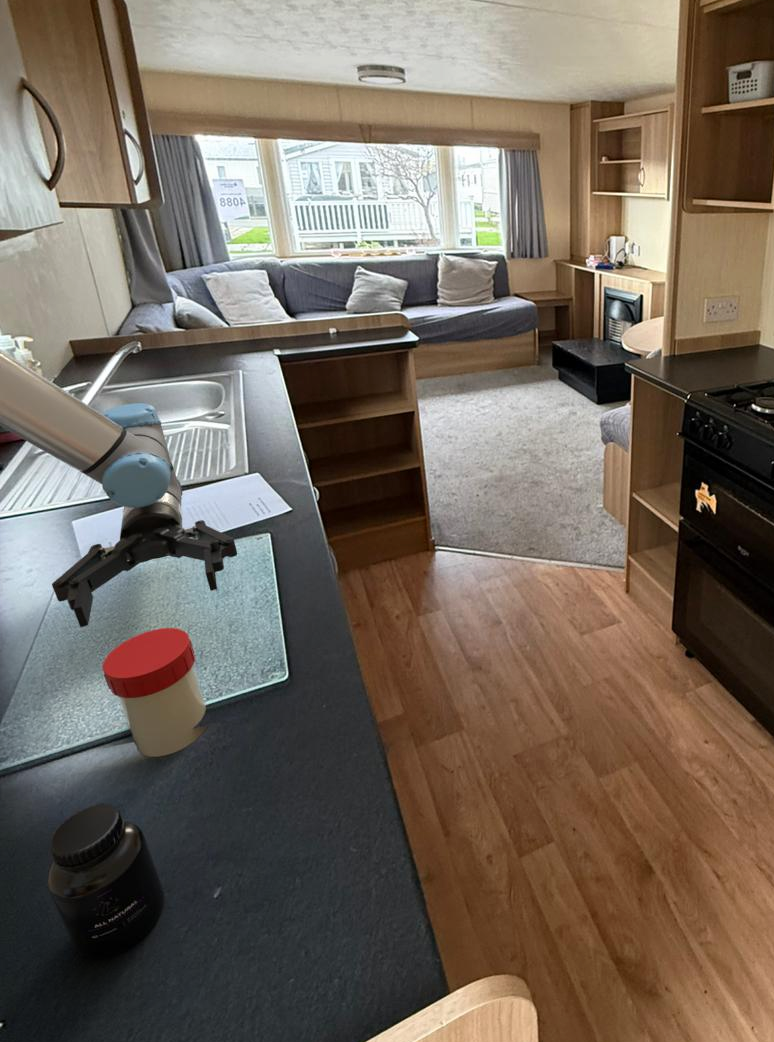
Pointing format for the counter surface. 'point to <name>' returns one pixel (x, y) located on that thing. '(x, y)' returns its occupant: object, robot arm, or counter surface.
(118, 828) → the supplement bottle
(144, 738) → the jar
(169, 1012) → the counter surface
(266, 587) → the counter surface
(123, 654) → the lid
